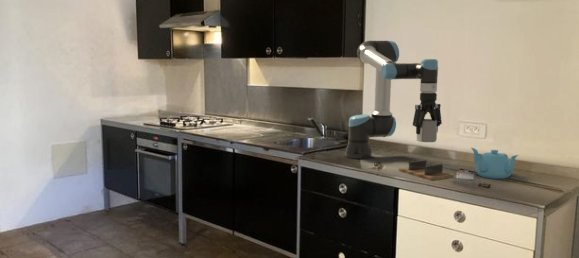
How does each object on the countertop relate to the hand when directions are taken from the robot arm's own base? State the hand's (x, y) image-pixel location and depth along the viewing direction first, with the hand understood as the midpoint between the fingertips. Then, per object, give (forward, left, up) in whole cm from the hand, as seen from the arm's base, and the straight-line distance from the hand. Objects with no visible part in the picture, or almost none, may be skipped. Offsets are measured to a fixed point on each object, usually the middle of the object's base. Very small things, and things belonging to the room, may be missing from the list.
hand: (426, 140), depth 232 cm
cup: (0, 0, -1) cm, 1 cm away
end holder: (0, 0, -16) cm, 16 cm away
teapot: (+17, +25, -17) cm, 34 cm away
